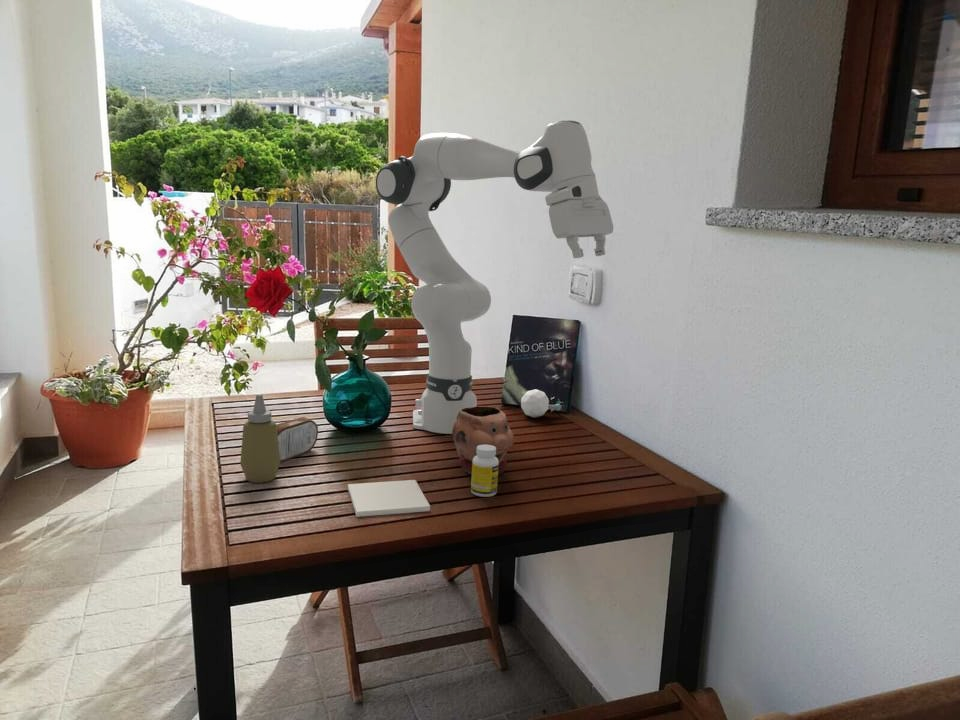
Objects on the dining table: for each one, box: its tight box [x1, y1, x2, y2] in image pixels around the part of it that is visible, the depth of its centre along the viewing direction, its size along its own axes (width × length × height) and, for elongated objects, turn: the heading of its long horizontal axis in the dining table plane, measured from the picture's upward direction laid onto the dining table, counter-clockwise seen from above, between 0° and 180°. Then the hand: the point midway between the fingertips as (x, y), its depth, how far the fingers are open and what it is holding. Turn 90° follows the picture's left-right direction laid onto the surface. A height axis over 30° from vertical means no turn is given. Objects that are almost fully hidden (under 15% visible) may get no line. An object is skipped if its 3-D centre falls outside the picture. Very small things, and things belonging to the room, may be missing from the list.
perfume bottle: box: [520, 388, 562, 419], centre depth 206 cm, size 8×8×12 cm
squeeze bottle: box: [239, 394, 281, 484], centre depth 148 cm, size 8×8×18 cm
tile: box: [347, 479, 431, 518], centre depth 142 cm, size 14×14×1 cm
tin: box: [276, 416, 319, 463], centre depth 163 cm, size 15×3×8 cm, turn 150°
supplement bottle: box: [470, 445, 499, 498], centre depth 147 cm, size 5×5×10 cm
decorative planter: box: [451, 405, 515, 476], centre depth 160 cm, size 20×12×14 cm, turn 37°
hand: (590, 256), depth 157 cm, fingers open, 8 cm apart
